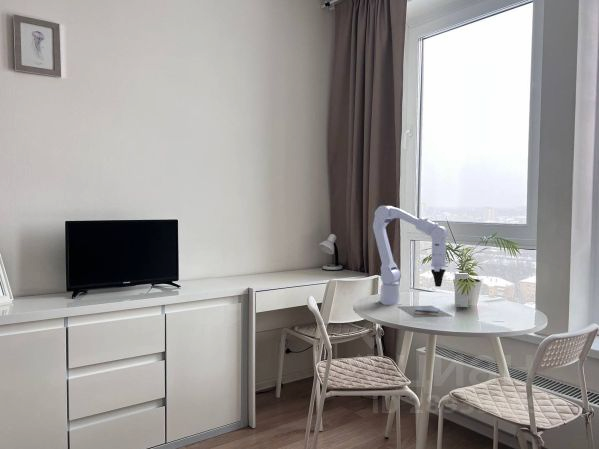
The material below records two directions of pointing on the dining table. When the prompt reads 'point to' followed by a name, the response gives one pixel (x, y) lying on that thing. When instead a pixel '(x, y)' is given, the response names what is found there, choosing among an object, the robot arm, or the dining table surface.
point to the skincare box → (459, 299)
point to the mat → (411, 311)
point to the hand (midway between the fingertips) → (438, 286)
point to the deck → (427, 311)
